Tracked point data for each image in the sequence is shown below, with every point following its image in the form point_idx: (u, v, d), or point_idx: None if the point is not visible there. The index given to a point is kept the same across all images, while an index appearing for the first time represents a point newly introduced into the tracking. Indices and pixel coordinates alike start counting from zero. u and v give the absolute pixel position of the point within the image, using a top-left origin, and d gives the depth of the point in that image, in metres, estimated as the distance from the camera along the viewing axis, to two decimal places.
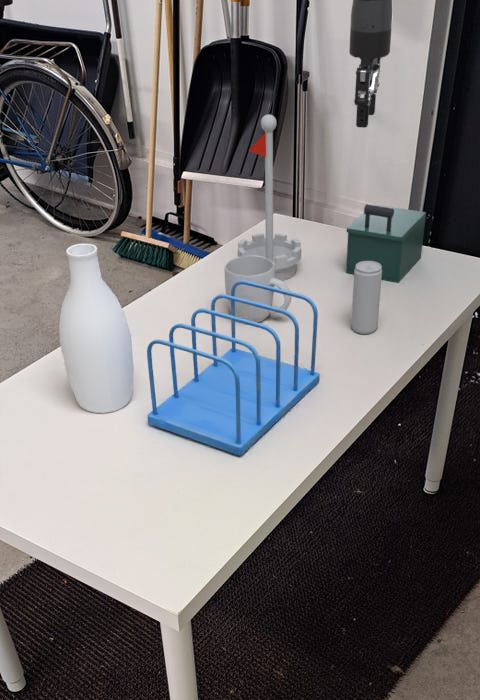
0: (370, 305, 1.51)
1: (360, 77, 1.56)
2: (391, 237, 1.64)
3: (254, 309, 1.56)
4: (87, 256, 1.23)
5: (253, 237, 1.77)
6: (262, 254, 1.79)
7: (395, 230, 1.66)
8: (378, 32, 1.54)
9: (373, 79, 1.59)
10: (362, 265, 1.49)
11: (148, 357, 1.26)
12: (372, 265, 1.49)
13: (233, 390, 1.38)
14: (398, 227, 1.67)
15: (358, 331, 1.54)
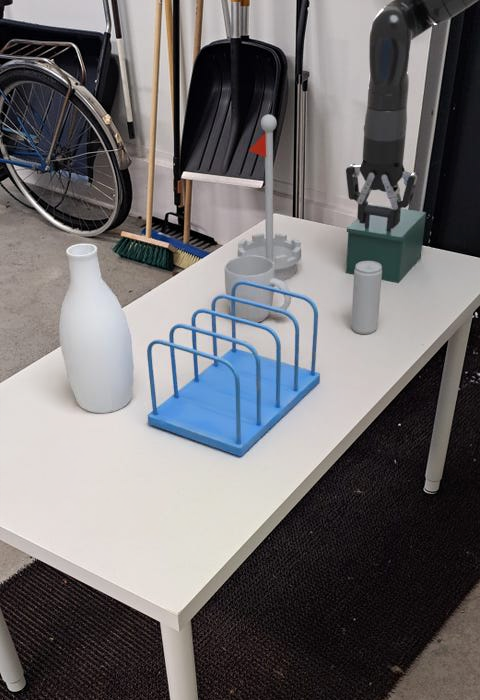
0: (370, 305, 1.51)
1: (414, 182, 1.58)
2: (391, 237, 1.64)
3: (254, 309, 1.56)
4: (87, 256, 1.23)
5: (253, 237, 1.77)
6: (262, 254, 1.79)
7: (395, 230, 1.66)
8: None
9: None
10: (362, 265, 1.49)
11: (148, 357, 1.26)
12: (372, 265, 1.49)
13: (233, 391, 1.38)
14: (398, 227, 1.67)
15: (358, 331, 1.54)
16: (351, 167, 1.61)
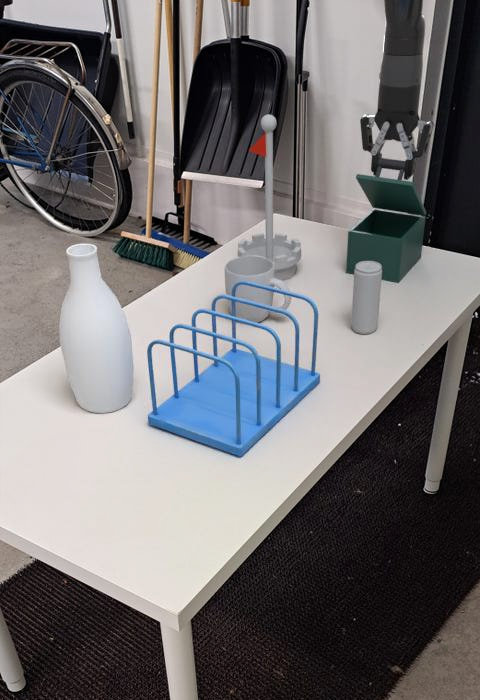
0: (370, 305, 1.51)
1: (429, 131, 1.57)
2: (402, 181, 1.61)
3: (254, 309, 1.56)
4: (87, 256, 1.23)
5: (253, 237, 1.77)
6: (262, 254, 1.79)
7: None
8: None
9: None
10: (362, 265, 1.49)
11: (148, 357, 1.26)
12: (372, 265, 1.49)
13: (233, 391, 1.37)
14: None
15: (358, 331, 1.54)
16: (365, 117, 1.61)
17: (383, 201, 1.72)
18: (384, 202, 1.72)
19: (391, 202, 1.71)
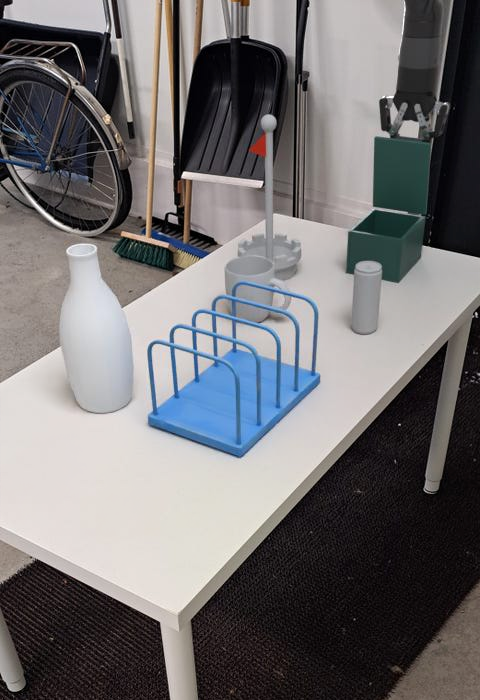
0: (370, 305, 1.51)
1: (446, 112, 1.62)
2: (420, 142, 1.63)
3: (254, 309, 1.56)
4: (87, 256, 1.23)
5: (253, 237, 1.77)
6: (262, 254, 1.79)
7: None
8: None
9: None
10: (362, 265, 1.49)
11: (148, 357, 1.26)
12: (372, 265, 1.49)
13: (233, 391, 1.37)
14: None
15: (358, 331, 1.54)
16: (384, 98, 1.66)
17: (388, 188, 1.73)
18: (388, 191, 1.73)
19: (396, 189, 1.72)
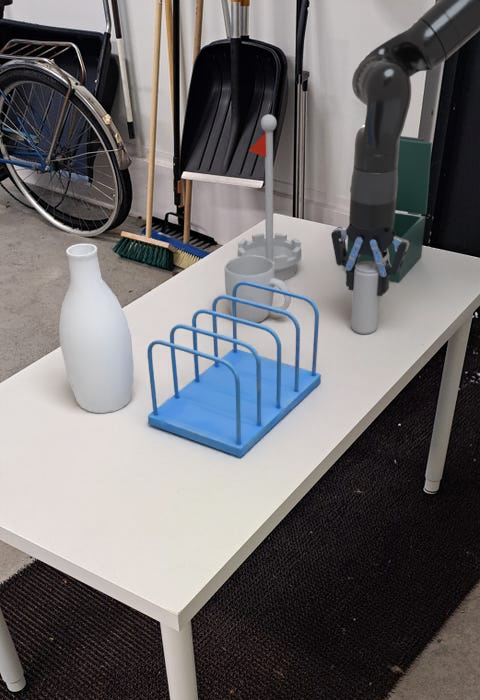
0: (370, 305, 1.51)
1: (405, 249, 1.43)
2: (421, 141, 1.64)
3: (254, 309, 1.56)
4: (87, 256, 1.23)
5: (253, 237, 1.77)
6: (262, 254, 1.79)
7: None
8: None
9: None
10: (362, 265, 1.49)
11: (148, 358, 1.26)
12: (372, 265, 1.49)
13: (234, 391, 1.37)
14: None
15: (358, 331, 1.54)
16: (337, 231, 1.46)
17: None
18: None
19: (397, 189, 1.72)
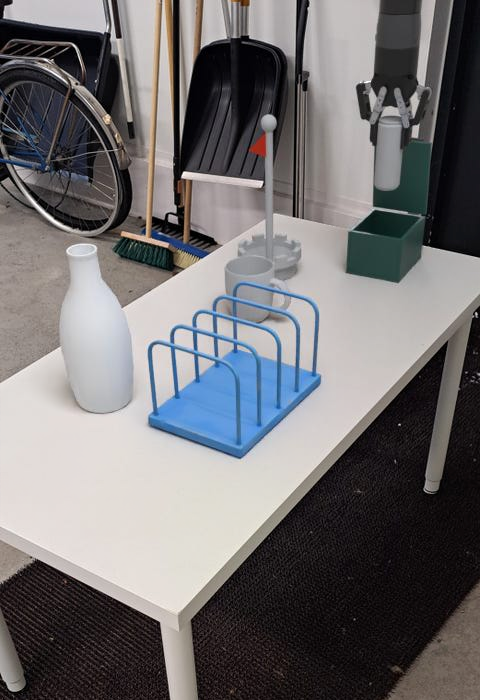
0: (393, 159, 1.56)
1: (428, 97, 1.48)
2: (421, 141, 1.64)
3: (254, 309, 1.56)
4: (87, 256, 1.23)
5: (253, 237, 1.77)
6: (262, 254, 1.79)
7: None
8: None
9: None
10: (385, 119, 1.54)
11: (149, 358, 1.26)
12: (395, 118, 1.54)
13: (234, 391, 1.37)
14: None
15: (381, 187, 1.60)
16: (361, 83, 1.52)
17: None
18: (388, 191, 1.73)
19: (397, 189, 1.72)
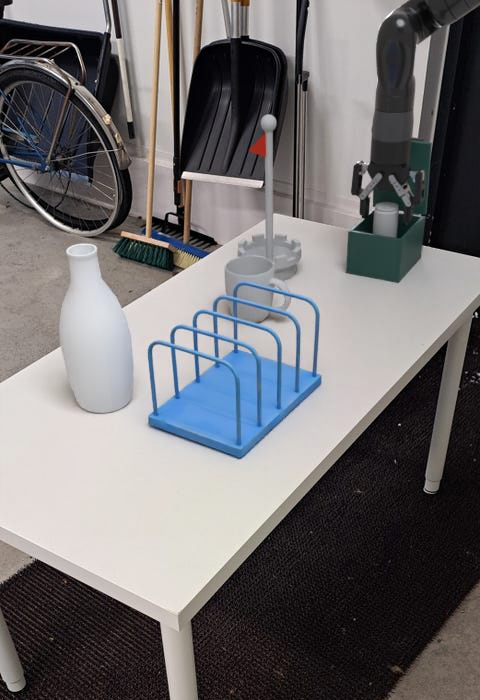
0: None
1: (422, 178, 1.60)
2: (421, 141, 1.64)
3: (254, 309, 1.56)
4: (87, 256, 1.23)
5: (253, 237, 1.77)
6: (262, 254, 1.79)
7: None
8: None
9: None
10: (381, 205, 1.68)
11: (149, 358, 1.26)
12: (390, 205, 1.68)
13: (234, 392, 1.37)
14: None
15: None
16: (359, 164, 1.64)
17: None
18: (388, 191, 1.73)
19: None
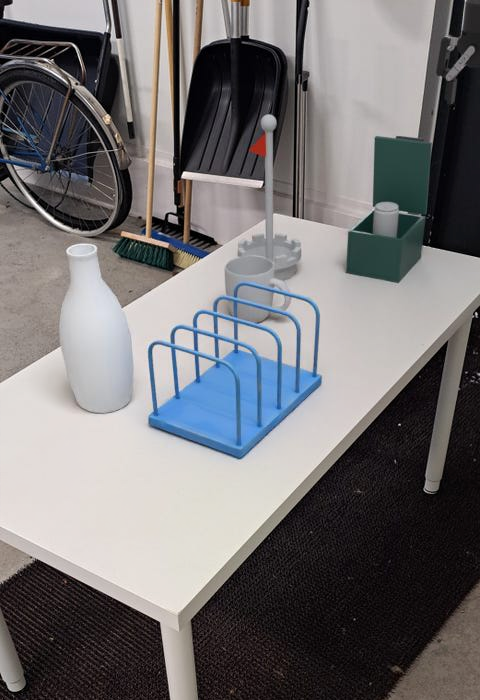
0: None
1: None
2: (421, 141, 1.64)
3: (254, 309, 1.56)
4: (87, 256, 1.23)
5: (253, 237, 1.77)
6: (262, 254, 1.79)
7: None
8: None
9: None
10: (381, 205, 1.68)
11: (149, 358, 1.26)
12: (390, 205, 1.68)
13: (234, 392, 1.37)
14: None
15: None
16: (448, 38, 1.45)
17: (388, 188, 1.73)
18: (388, 191, 1.73)
19: (397, 189, 1.72)
